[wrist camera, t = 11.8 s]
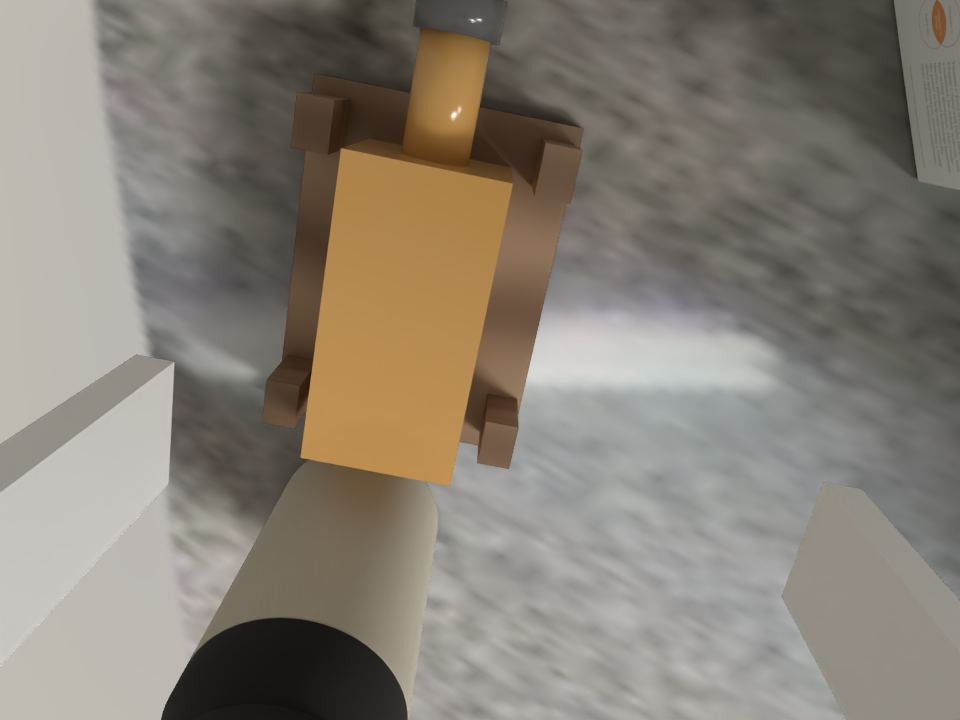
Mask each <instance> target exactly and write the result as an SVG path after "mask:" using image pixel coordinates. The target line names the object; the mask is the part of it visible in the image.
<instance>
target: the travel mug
mask: <svg viewBox="0 0 960 720" xmlns="http://www.w3.org/2000/svg"><path fill="white" fill-rule="evenodd" d="M437 529H438V512H437V506H436V502H435V499H434V497H433V494H432V492H431V490H430V488H429V487H428V485H427V483H426V482H425V481H420V480H415V479H410V478H404V477H399V476H394V475H389V474H383V473H378V472H373V471H368V470H362V469H357V468H352V467H346V466H341V465H336V464H331V463H325V462H320V461H315V460H310V459H309V460H308V461H307V462H305V463H304V464H303V465H302V466H301V467H300V468H298V469H297V471H296V472H295V473H294V474H293V476H292V477H291V479H290V480H289V482H288V484H287V486H286V487H285V489H284V491H283V493H282V495H281V496H280V498H279V500H278V502H277V504H276V505H275V507H274V509H273V511H272V513H271V514H270V516H269V518H268V520H267V522H266V523H265V525H264V527H263V529H262V531H261V532H260V534H259V536H258V538H257V540H256V542H255V543H254V545H253V547H252V549H251V551H250V552H249V554H248V556H247V558H246V560H245V561H244V563H243V565H242V567H241V569H240V570H239V572H238V574H237V576H236V578H235V579H234V581H233V583H232V585H231V587H230V588H229V590H228V592H227V594H226V596H225V597H224V599H223V601H222V603H221V605H220V607H219V608H218V610H217V612H216V614H215V616H214V617H213V619H212V621H211V623H210V625H209V626H208V628H207V630H206V632H205V634H204V635H203V637H202V639H201V641H200V643H199V644H198V646H197V648H196V650H195V652H194V653H193V655H192V657H191V659H190V661H189V663H188V664H187V666H186V668H185V670H184V672H183V673H182V675H181V677H180V679H179V681H178V683H177V684H176V686H175V688H174V690H173V691H172V693H171V695H170V697H169V699H168V701H167V703H166V705H165V708H164V711H163V714H162V719H161V720H409V714H410V707H411V700H412V694H413V687H414V681H415V674H416V668H417V661H418V654H419V648H420V641H421V635H422V628H423V621H424V615H425V608H426V602H427V595H428V588H429V582H430V575H431V569H432V562H433V555H434V549H435V542H436V536H437Z"/></svg>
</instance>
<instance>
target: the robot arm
mask: <svg viewBox="0 0 960 720" xmlns="http://www.w3.org/2000/svg"><path fill="white" fill-rule="evenodd" d="M174 363H175V362H173V361H168V360H163V359H157V358H152V357H146V356H141V355H135V356H134V357H132V358H130V359H129V360H127V361H126V362H124V363H123V364H121V365H120V366H118V367H117V368H115V369H114V370H112V371H111V372H109V373H108V374H106V375H105V376H103V377H102V378H100V379H98V380H97V381H95V382H94V383H93V384H91V385H89V386H88V387H86V388H85V389H83V390H82V391H80V392H79V393H77V394H76V395H74V396H73V397H71V398H70V399H68V400H67V401H65V402H64V403H62V404H60V405H59V406H57V407H56V408H54V409H53V410H51V411H50V412H48V413H47V414H45V415H44V416H42V417H41V418H39V419H38V420H36V421H35V422H33V423H32V424H30V425H29V426H27V427H26V428H24V429H22V430H21V431H20V432H18V433H16V434H15V435H13V436H12V437H10V438H9V439H7V440H6V441H4V442H3V443H1V444H0V666H1V665H2V664H3V663H4V662H5V661H6V660H7V659H8V658H9V657H10V655H11V654H12V653H13V652H14V651H15V650H16V649H17V648H18V647H19V646H20V645H21V644H22V642H23V641H24V640H25V639H26V638H27V637H28V636H29V635H30V634H31V633H32V632H33V630H34V629H35V628H36V627H37V626H38V625H39V624H40V623H41V622H42V621H43V620H44V619H45V617H46V616H47V615H48V614H49V613H50V612H51V611H52V610H53V609H54V608H55V607H56V606H57V604H58V603H59V602H60V601H61V600H62V599H63V598H64V597H65V596H66V595H67V594H68V592H69V591H70V590H71V589H72V588H73V587H74V586H75V585H76V584H77V583H78V582H79V581H80V579H81V578H82V577H83V576H84V575H85V574H86V573H87V572H88V571H89V570H90V569H91V568H92V566H93V565H94V564H95V563H96V562H97V561H98V560H99V559H100V558H101V557H102V556H103V555H104V553H105V552H106V551H107V550H108V549H109V548H110V547H111V546H112V545H113V544H114V543H115V541H116V540H117V539H118V538H119V537H120V536H121V535H122V534H123V533H124V532H125V531H126V530H127V528H128V527H129V526H130V525H131V524H132V523H133V522H134V521H135V520H136V519H137V517H139V515H140V514H141V513H142V512H143V511H144V510H145V509H146V508H147V507H148V505H149V504H150V503H151V502H152V501H153V500H154V499H155V498H156V497H157V496H158V495H159V494H160V493H161V492H162V490H163V489H164V488H165V487H166V486H167V485H168V484H169V465H170V445H171V424H172V404H173V383H174ZM782 598H783V600H784V602H785V604H786V606H787V608H788V610H789V612H790V613H791V615H792V617H793V619H794V621H795V623H796V625H797V627H798V629H799V630H800V632H801V634H802V636H803V638H804V640H805V642H806V644H807V646H808V647H809V649H810V651H811V653H812V655H813V657H814V659H815V661H816V663H817V664H818V666H819V668H820V670H821V672H822V674H823V676H824V678H825V680H826V681H827V683H828V685H829V687H830V689H831V691H832V693H833V695H834V697H835V698H836V700H837V702H838V704H839V706H840V708H841V710H842V712H843V714H844V715H845V717H846V719H847V720H960V600H959V599H958V598H957V597H956V596H955V595H954V594H953V592H952V591H951V590H950V589H949V588H948V587H947V586H946V585H945V583H944V582H943V581H942V580H941V579H940V578H939V577H938V575H937V574H936V573H935V572H934V571H933V570H932V569H931V568H930V566H929V565H928V564H927V563H926V562H925V561H924V560H923V558H922V557H921V556H920V555H919V554H918V553H917V552H916V551H915V549H914V548H913V547H912V546H911V545H910V544H909V543H908V541H907V540H906V539H905V538H904V537H903V536H902V535H901V534H900V532H899V531H898V530H897V529H896V528H895V527H894V526H893V524H892V523H891V522H890V521H889V520H888V519H887V518H886V517H885V515H884V514H883V513H882V512H881V511H880V510H879V509H878V507H877V506H876V505H875V504H874V503H873V502H872V501H871V500H870V498H869V497H868V496H867V495H866V494H865V493H864V492H863V490H862V489H858V488H852V487H847V486H842V485H836V484H831V483H826V482H824V483H823V486H822V488H821V491H820V494H819V497H818V499H817V502H816V505H815V507H814V510H813V513H812V516H811V518H810V521H809V524H808V526H807V529H806V532H805V534H804V537H803V540H802V543H801V545H800V548H799V551H798V553H797V556H796V559H795V561H794V564H793V567H792V570H791V572H790V575H789V578H788V580H787V583H786V586H785V589H784V591H783V594H782Z"/></svg>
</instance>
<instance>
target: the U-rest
mask: <svg viewBox="0 0 960 720" xmlns="http://www.w3.org/2000/svg"><path fill="white" fill-rule="evenodd" d="M409 98H410V93H409V92H404V91H400V90H395V89H390V88H385V87H380V86H375V85H370V84H365V83H360V82H355V81H351V80H346V79H341V78H336V77H331V76H326V75H321V74H314V80H313V89H312V93H304V92H297V96H296V106H295V115H294V125H293V134H292V144H291V148H296V149H301V150H306V152H305V161H304V170H303V178H302V187H301V196H300V205H299V214H298V223H297V232H296V241H295V250H294V259H293V268H292V277H291V286H290V295H289V304H288V313H287V322H286V331H285V339H284V348H283V357H282V362H281V363H280V364H279V366H278V367H277V368H276V369H275V371H274V372H273V373H272V374H271V375H270V377H269V378H268V379H267V381H266V391H265V400H264V410H263V419H262V423H266V424H271V425H277V426H282V427H287V428H293V429H295V427H296V426H297V424H298V422H299V421H300V419H301V417H302V416H303V414H304V413H306V412H307V404H308V396H309V389H310V381H311V374H312V366H313V358H314V351H315V343H316V336H317V328H318V320H319V313H320V305H321V298H322V290H323V282H324V275H325V267H326V259H327V252H328V244H329V237H330V229H331V221H332V214H333V206H334V199H335V191H336V183H337V176H338V168H339V161H340V153H341V148H344V147H347V146H349V145H352V144H355V143H358V142H361V141H364V140H367V139H375V140H380V141H385V142H390V143H394V144H399V145H402V143H403V137H404V130H405V124H406V118H407V111H408V105H409ZM582 133H583V128H581V127H576V126H571V125H566V124H561V123H556V122H551V121H546V120H541V119H537V118H532V117H527V116H522V115H517V114H512V113H507V112H502V111H497V110H492V109H488V108H483V107H479V112H478V118H477V123H476V128H475V134H474V139H473V144H472V150H471V155H470V159H472V160H477V161H482V162H486V163H491V164H496V165H501V166H506V167H511V169H512V178H513V186H512V191H511V196H510V201H509V206H508V210H507V215H506V220H505V225H504V230H503V234H502V239H501V244H500V249H499V253H498V258H497V263H496V268H495V273H494V277H493V282H492V287H491V292H490V297H489V301H488V306H487V311H486V316H485V321H484V325H483V330H482V335H481V340H480V345H479V349H478V354H477V359H476V364H475V369H474V373H473V378H472V383H471V388H470V393H469V397H468V402H467V407H466V412H465V417H464V421H463V426H462V431H461V436H460V441H459V442H463V443H468V444H474V445H479V446H478V460H477V463H480V464H485V465H490V466H496V467H501V468H506V469H509V467H510V462H511V458H512V454H513V449H514V445H515V441H516V436H517V432H518V413H519V408H520V404H521V400H522V395H523V391H524V387H525V382H526V378H527V374H528V369H529V365H530V360H531V356H532V352H533V347H534V343H535V339H536V334H537V330H538V326H539V321H540V317H541V312H542V308H543V304H544V299H545V295H546V291H547V286H548V282H549V278H550V273H551V269H552V264H553V260H554V256H555V251H556V247H557V243H558V238H559V234H560V230H561V225H562V221H563V216H564V212H565V208H566V203H570V202H571V198H572V194H573V189H574V185H575V181H576V176H577V172H578V168H579V163H580V159H581V155H582V150H581V149H580V148H579V147H580V142H581V138H582Z"/></svg>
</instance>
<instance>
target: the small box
mask: <svg viewBox="0 0 960 720" xmlns="http://www.w3.org/2000/svg"><path fill="white" fill-rule="evenodd" d="M894 6H895V14H896V22H897V29H898V37H899V45H900V52H901V59H902V67H903V74H904V82H905V90H906V97H907V105H908V112H909V119H910V126H911V133H912V140H913V147H914V155H915V162H916V169H917V176H918V180H919V182H922V183H927V184H932V185H937V186H942V187H947V188H951V189H956V190H960V0H894Z"/></svg>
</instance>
